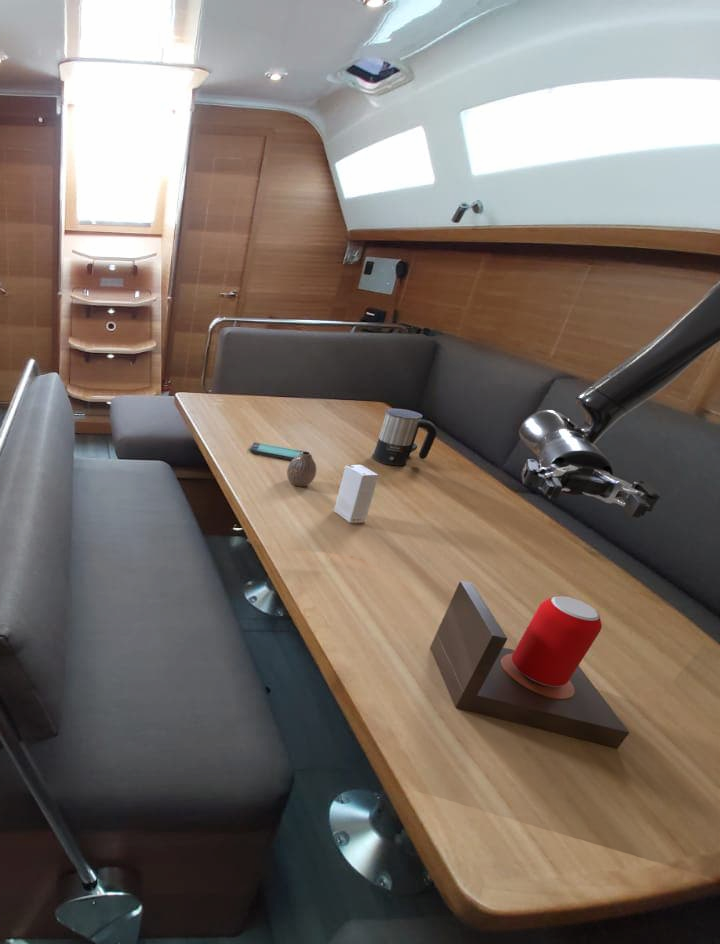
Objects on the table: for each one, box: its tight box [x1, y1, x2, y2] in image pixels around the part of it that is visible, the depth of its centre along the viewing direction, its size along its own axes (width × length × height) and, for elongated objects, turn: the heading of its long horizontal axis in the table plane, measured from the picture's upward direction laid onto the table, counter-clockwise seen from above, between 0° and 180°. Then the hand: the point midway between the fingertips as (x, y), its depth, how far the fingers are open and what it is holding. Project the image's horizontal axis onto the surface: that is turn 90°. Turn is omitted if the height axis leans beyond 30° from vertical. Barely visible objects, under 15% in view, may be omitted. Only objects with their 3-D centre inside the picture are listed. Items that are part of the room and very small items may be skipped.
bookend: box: [429, 580, 630, 749], centre depth 68 cm, size 18×12×13 cm, turn 72°
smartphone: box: [249, 442, 304, 461], centre depth 150 cm, size 7×1×15 cm
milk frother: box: [371, 408, 438, 467], centre depth 148 cm, size 14×16×15 cm
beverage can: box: [512, 595, 603, 687], centre depth 67 cm, size 6×6×12 cm
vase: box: [286, 450, 317, 488], centre depth 130 cm, size 7×7×9 cm
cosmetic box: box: [333, 464, 379, 524], centre depth 114 cm, size 6×4×12 cm
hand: (596, 502), depth 68 cm, fingers open, 8 cm apart
